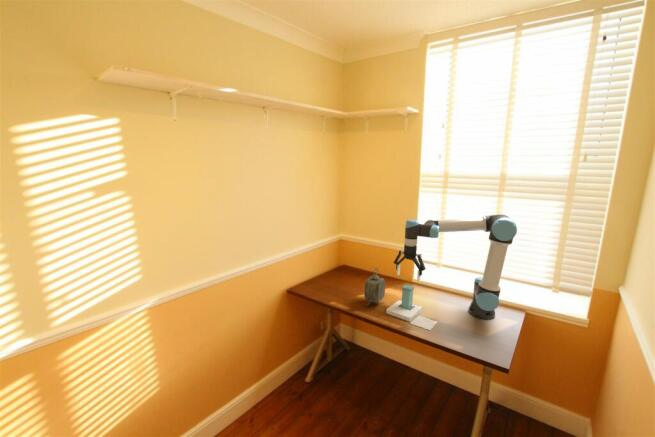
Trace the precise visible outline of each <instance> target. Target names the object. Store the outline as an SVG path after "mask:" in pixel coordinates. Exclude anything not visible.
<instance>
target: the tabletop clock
mask: <svg viewBox="0 0 655 437" xmlns="http://www.w3.org/2000/svg"><path fill="white" fill-rule="evenodd" d="M378 271H379V269H378V267H375V268H374V269H373V272H372V275H371V276H369V277H368V278H367V279H366V280H365V283H364V291H363V292H364V294H363V295H364V298H363V299H364V301H367V302H368V303H367V304H366V306H367V307H369V305H370V303H376V306H379V303H380V302H381V301H382V300H383V299H384V297H385V294H386V293H385V292H386V280H385V279H384V278H383V277H380V276H379V275H377V274H378Z"/></svg>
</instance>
